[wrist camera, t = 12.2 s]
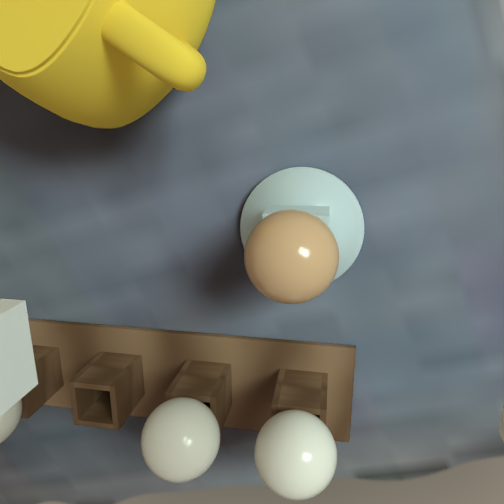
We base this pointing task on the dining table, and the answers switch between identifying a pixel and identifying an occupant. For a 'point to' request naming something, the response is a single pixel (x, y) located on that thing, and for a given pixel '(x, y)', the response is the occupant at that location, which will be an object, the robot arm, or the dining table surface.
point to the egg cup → (309, 206)
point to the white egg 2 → (180, 439)
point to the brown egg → (291, 256)
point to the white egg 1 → (10, 420)
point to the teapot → (102, 54)
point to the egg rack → (187, 375)
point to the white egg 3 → (295, 454)
